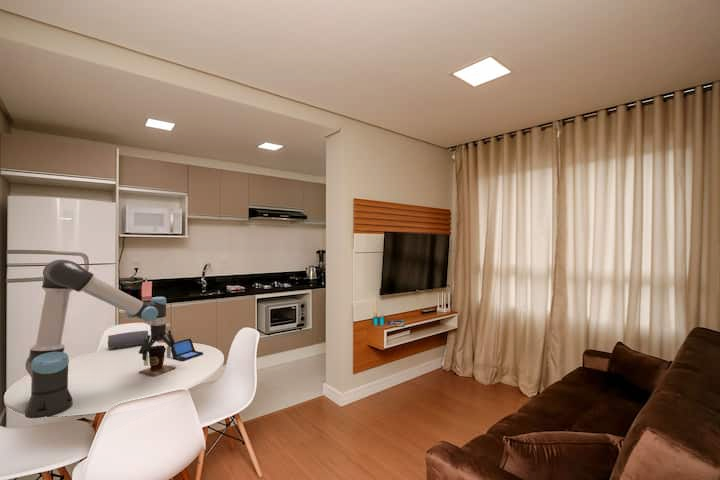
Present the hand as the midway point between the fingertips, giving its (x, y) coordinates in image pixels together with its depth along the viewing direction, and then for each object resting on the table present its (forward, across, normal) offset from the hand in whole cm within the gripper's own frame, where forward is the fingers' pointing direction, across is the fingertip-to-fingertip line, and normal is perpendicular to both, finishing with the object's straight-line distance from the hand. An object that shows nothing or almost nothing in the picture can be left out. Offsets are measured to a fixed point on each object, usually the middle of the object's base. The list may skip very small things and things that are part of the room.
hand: (157, 361), depth 189 cm
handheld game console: (+6, +24, +7) cm, 26 cm away
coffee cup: (+5, -1, 0) cm, 5 cm away
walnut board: (+5, 0, 0) cm, 5 cm away
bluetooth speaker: (+5, +21, +60) cm, 64 cm away
